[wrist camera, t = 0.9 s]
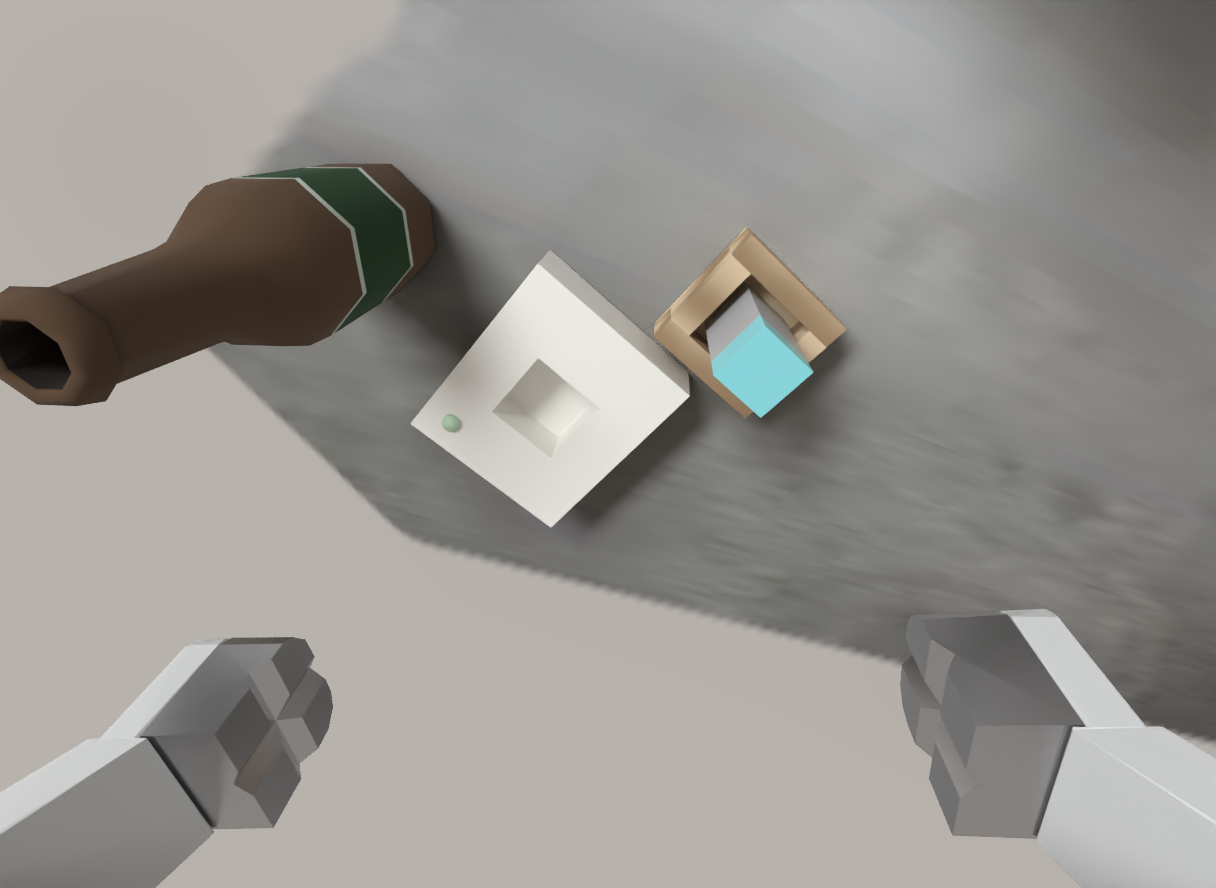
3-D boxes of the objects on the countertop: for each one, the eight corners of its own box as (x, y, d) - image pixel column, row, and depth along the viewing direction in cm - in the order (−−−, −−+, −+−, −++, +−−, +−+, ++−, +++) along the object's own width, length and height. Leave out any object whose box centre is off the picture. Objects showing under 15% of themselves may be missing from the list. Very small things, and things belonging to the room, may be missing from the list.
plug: (745, 281, 37) (765, 326, 30) (784, 319, 38) (813, 372, 30) (704, 322, 39) (713, 375, 31) (742, 358, 40) (760, 418, 32)
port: (550, 249, 38) (537, 264, 34) (688, 372, 41) (689, 397, 37) (431, 399, 44) (409, 425, 40) (559, 496, 47) (550, 529, 43)
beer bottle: (364, 303, 41) (39, 503, 20) (295, 187, 38) (-178, 280, 17) (463, 260, 39) (219, 431, 18) (399, 134, 36) (11, 161, 15)
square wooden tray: (746, 226, 36) (752, 235, 34) (834, 314, 38) (846, 329, 36) (654, 322, 40) (653, 337, 37) (740, 399, 42) (745, 418, 39)
